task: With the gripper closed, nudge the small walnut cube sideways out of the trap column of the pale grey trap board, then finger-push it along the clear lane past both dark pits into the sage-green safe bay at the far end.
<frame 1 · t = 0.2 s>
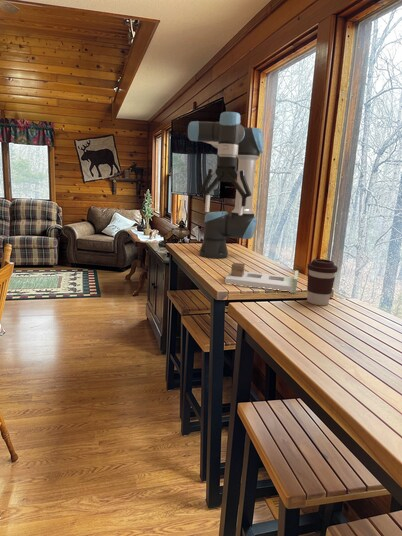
hand: (223, 213, 149), 27 cm above the table, fingers open, 13 cm apart
coffee cup: (317, 303, 135), on the table
block: (237, 275, 157), point 2 cm above the table, touching trap board
trap board: (260, 283, 155), on the table
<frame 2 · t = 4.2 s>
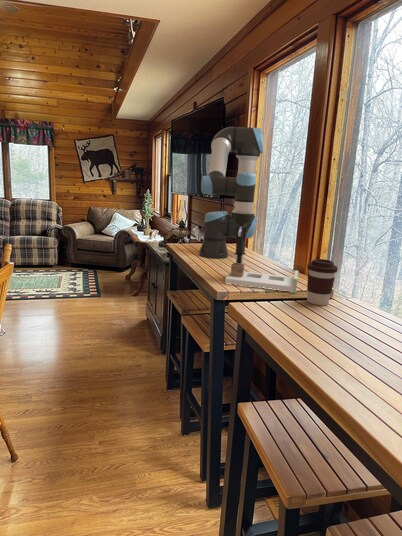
hand: (238, 270, 159), 4 cm above the table, fingers closed
block: (237, 275, 156), point 2 cm above the table, touching gripper, trap board
everything else where it was.
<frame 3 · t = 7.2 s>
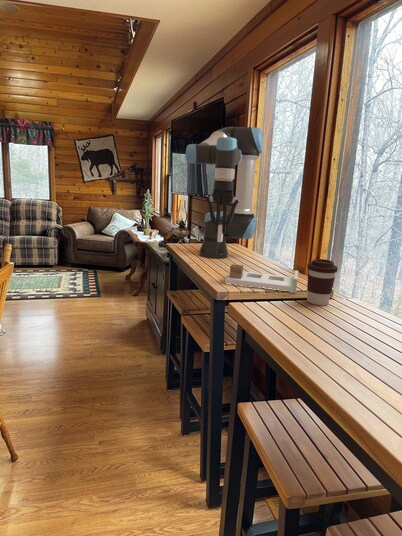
hand: (219, 241, 152), 16 cm above the table, fingers closed
block: (236, 276, 154), point 2 cm above the table, touching trap board
everything else where it was.
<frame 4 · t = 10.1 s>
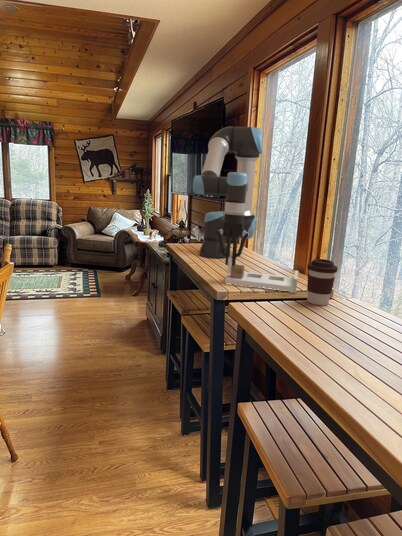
hand: (229, 273, 153), 4 cm above the table, fingers closed
block: (237, 277, 154), point 2 cm above the table, touching gripper
everything else where it was.
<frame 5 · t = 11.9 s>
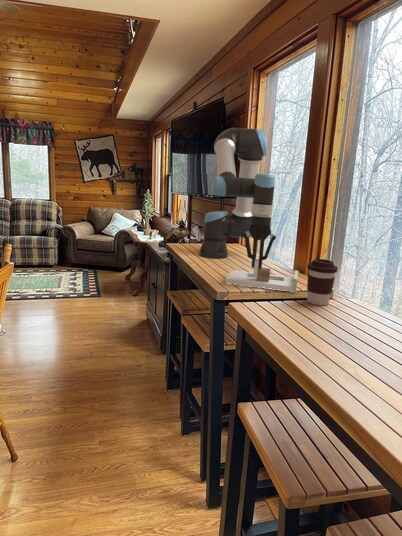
hand: (255, 276, 151), 4 cm above the table, fingers closed
block: (263, 280, 151), point 2 cm above the table, touching gripper
everything else where it was.
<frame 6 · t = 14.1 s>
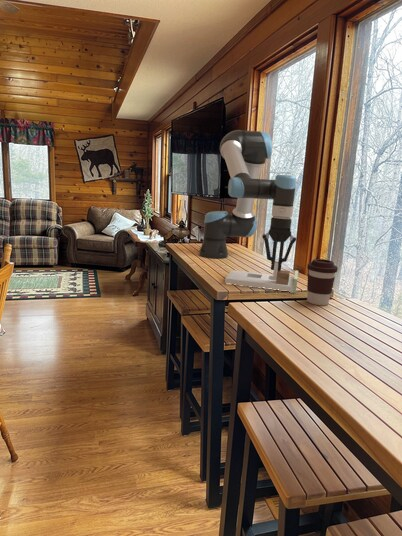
hand: (274, 278, 149), 4 cm above the table, fingers closed
block: (282, 282, 149), point 2 cm above the table, touching gripper, trap board
everything else where it was.
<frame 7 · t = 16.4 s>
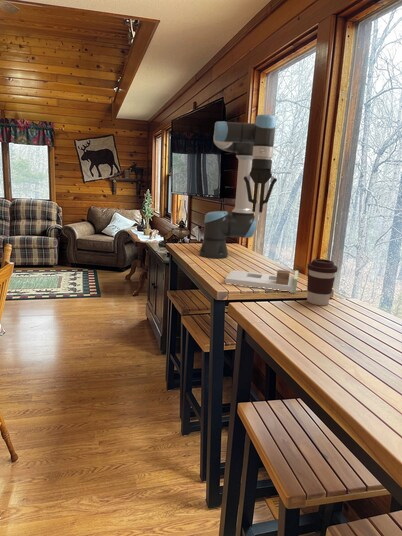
hand: (256, 220, 152), 25 cm above the table, fingers closed
block: (282, 282, 149), point 2 cm above the table, touching trap board
everything else where it was.
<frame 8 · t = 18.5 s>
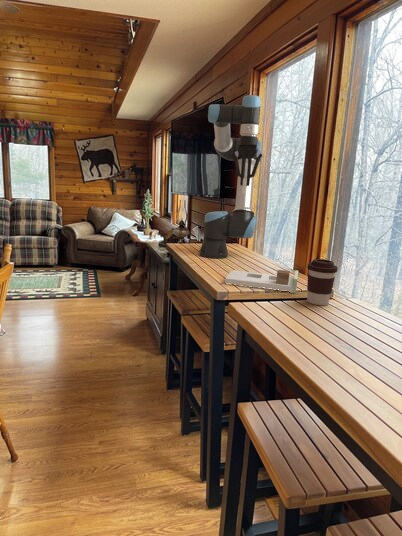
hand: (244, 193, 166), 34 cm above the table, fingers closed
nothing on the table moved.
at the end: block 1.8 cm from the target spot on the trap board, point 2.4 cm above the trap board's base; block point 2.4 cm above the table; block touching trap board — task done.
